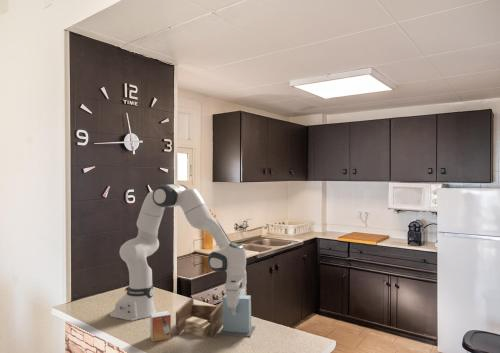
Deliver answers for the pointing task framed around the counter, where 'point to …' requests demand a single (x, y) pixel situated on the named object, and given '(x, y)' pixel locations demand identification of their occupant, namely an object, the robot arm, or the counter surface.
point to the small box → (160, 326)
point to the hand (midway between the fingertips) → (237, 310)
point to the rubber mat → (237, 333)
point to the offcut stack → (197, 326)
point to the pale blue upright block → (237, 315)
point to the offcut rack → (200, 315)
